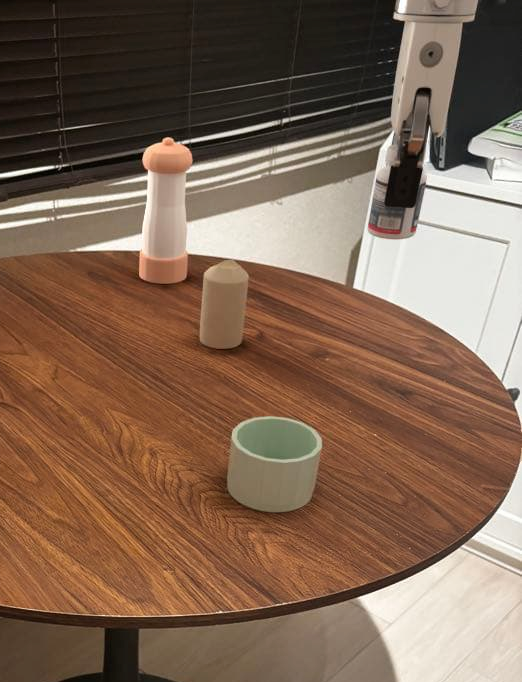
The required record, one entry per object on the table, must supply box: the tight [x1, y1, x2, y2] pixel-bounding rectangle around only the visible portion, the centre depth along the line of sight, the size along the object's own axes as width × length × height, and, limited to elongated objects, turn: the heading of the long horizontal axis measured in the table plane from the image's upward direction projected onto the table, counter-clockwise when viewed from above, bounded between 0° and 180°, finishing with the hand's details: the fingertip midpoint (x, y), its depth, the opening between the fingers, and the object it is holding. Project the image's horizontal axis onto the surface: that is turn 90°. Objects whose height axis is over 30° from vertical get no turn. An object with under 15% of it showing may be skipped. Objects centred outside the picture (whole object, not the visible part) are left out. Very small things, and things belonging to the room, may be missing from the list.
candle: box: [199, 259, 250, 350], centre depth 102 cm, size 6×6×10 cm
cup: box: [226, 415, 323, 513], centre depth 76 cm, size 8×8×6 cm
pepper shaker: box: [138, 136, 194, 285], centre depth 118 cm, size 7×7×19 cm
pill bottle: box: [367, 144, 428, 241], centre depth 89 cm, size 5×5×9 cm
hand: (397, 197), depth 89 cm, fingers closed on pill bottle, 5 cm apart
